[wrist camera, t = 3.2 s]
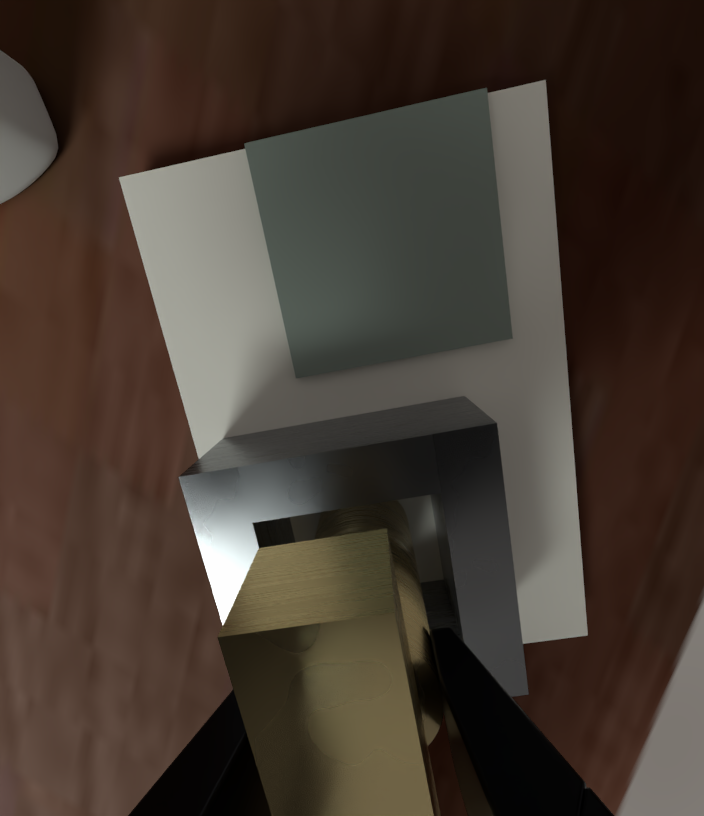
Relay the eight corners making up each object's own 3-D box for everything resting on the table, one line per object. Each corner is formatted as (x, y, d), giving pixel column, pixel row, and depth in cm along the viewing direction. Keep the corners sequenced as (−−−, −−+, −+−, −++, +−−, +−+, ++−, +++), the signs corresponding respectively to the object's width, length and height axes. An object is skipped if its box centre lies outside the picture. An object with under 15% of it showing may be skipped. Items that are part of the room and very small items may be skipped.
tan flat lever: (423, 610, 13) (498, 999, 6) (338, 621, 14) (303, 1011, 6) (390, 422, 12) (431, 608, 4) (297, 438, 12) (184, 641, 5)
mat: (509, 338, 11) (513, 338, 11) (297, 376, 12) (295, 378, 12) (483, 94, 10) (486, 87, 10) (247, 148, 11) (244, 143, 10)
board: (572, 613, 14) (587, 635, 13) (267, 654, 15) (261, 677, 14) (529, 100, 11) (545, 79, 10) (139, 189, 12) (118, 177, 11)
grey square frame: (492, 610, 13) (528, 694, 10) (277, 640, 14) (253, 727, 11) (464, 395, 12) (497, 422, 9) (223, 438, 12) (178, 476, 9)
